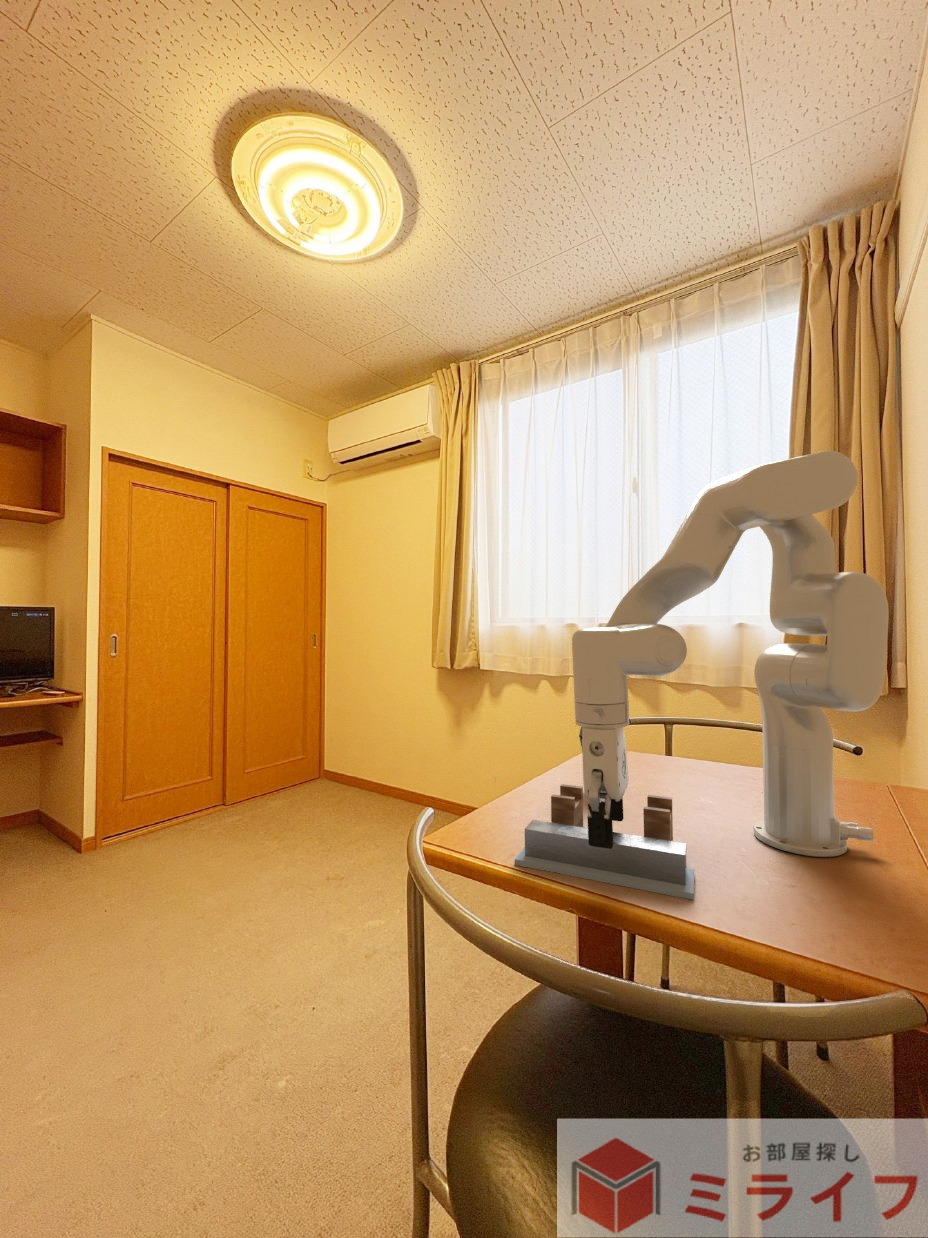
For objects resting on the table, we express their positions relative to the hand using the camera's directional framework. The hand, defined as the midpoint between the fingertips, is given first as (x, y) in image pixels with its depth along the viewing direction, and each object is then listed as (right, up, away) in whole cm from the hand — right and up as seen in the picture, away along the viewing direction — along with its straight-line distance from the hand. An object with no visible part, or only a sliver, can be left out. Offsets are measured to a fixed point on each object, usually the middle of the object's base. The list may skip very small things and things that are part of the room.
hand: (607, 832), depth 74 cm
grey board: (-1, -5, 0) cm, 5 cm away
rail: (-1, -5, 0) cm, 4 cm away
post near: (+9, -5, +5) cm, 11 cm away
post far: (-4, -5, +10) cm, 12 cm away
